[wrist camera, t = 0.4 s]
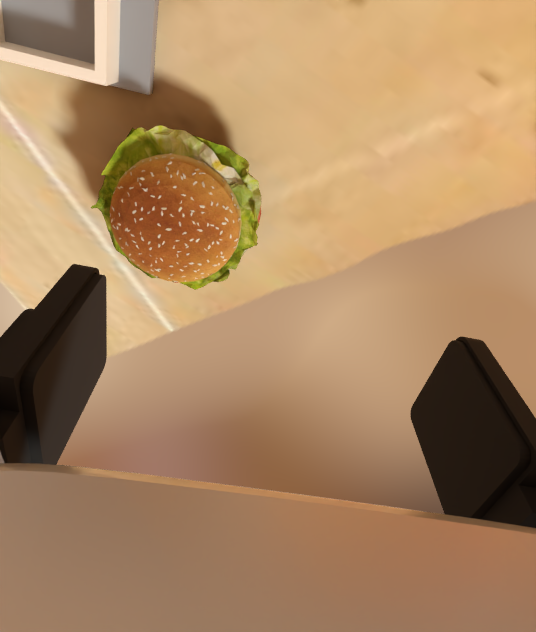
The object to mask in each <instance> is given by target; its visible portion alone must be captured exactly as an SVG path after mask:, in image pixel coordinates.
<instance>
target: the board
mask: <svg viewBox="0 0 536 632" xmlns="http://www.w3.org/2000/svg"><path fill="white" fill-rule="evenodd" d="M158 1H159V0H0V60H4V61H8V62H12V63H16V64H20V65H24V66H28V67H32V68H36V69H40V70H44V71H48V72H52V73H56V74H60V75H64V76H68V77H72V78H76V79H80V80H84V81H88V82H92V83H96V84H100V85H104V86H108V85H111V86H115V87H119V88H123V89H127V90H131V91H135V92H139V93H143V94H147V95H150V94H152V93H153V78H154V63H155V48H156V32H157V17H158Z"/></svg>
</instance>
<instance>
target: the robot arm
mask: <svg viewBox="0 0 536 632" xmlns="http://www.w3.org/2000/svg"><path fill="white" fill-rule="evenodd" d="M106 355H107V350H106V277H105V275H99V270H98V269H97V268H93V267H88V266H82V265H77V264H73V265H72V266H71V267H70V268H69V269H68V270H67V271H66V272H65V274H64V275H63V276H62V277H61V278H60V280H59V281H58V282H57V283H56V284H55V285H54V287H53V288H52V289H51V290H50V291H49V293H48V294H47V295H46V296H45V297H44V298H43V300H42V301H41V302H40V303H39V304H38V306H37V307H36V308H35V309H27V310H25V311H24V312H23V313H21V314H20V316H19V317H18V318H17V319H16V320H15V321H14V322H13V323H12V325H11V326H10V327H9V328H8V329H7V330H6V331H5V333H4V334H3V335H2V336H1V337H0V632H536V418H535V417H534V415H533V414H532V412H531V411H530V409H529V408H528V406H527V405H526V404H525V402H524V400H523V399H522V398H521V396H520V395H519V393H518V392H517V390H516V389H515V387H514V386H513V384H512V383H511V381H510V380H509V378H508V377H507V375H506V374H505V372H504V371H503V369H502V368H501V366H500V365H499V363H498V362H497V360H496V359H495V358H494V356H493V355H492V353H491V352H490V350H489V349H488V347H487V346H486V344H485V343H484V342H483V341H481V340H477V339H472V338H467V337H459V338H457V339H456V340H454V341H451V342H450V343H449V344H448V346H447V348H446V350H445V351H444V353H443V355H442V356H441V358H440V360H439V361H438V363H437V365H436V366H435V368H434V370H433V372H432V374H431V375H430V377H429V378H428V380H427V382H426V384H425V385H424V387H423V389H422V390H421V392H420V394H419V395H418V397H417V399H416V401H415V402H414V404H413V406H412V408H411V420H412V423H413V426H414V428H415V432H416V434H417V437H418V440H419V443H420V445H421V448H422V451H423V454H424V457H425V460H426V463H427V465H428V468H429V471H430V474H431V476H432V479H433V482H434V485H435V488H436V491H437V493H438V496H439V499H440V502H441V505H442V508H443V510H444V513H445V514H438V513H431V512H424V511H417V510H410V509H403V508H395V507H389V506H382V505H374V504H367V503H359V502H352V501H345V500H337V499H330V498H322V497H315V496H308V495H300V494H293V493H285V492H278V491H270V490H263V489H256V488H248V487H240V486H232V485H224V484H217V483H209V482H201V481H194V480H186V479H178V478H170V477H162V476H155V475H147V474H138V473H130V472H120V471H112V470H103V469H94V468H86V467H76V466H64V465H56V464H57V462H58V460H59V458H60V456H61V454H62V452H63V450H64V448H65V446H66V444H67V442H68V440H69V437H70V436H71V433H72V432H73V430H74V427H75V426H76V424H77V422H78V420H79V418H80V415H81V413H82V412H83V410H84V408H85V406H86V404H87V402H88V399H89V397H90V395H91V393H92V391H93V389H94V387H95V385H96V383H97V381H98V379H99V377H100V375H101V373H102V371H103V369H104V366H105V363H106Z"/></svg>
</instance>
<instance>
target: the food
mask: <svg viewBox="0 0 536 632" xmlns="http://www.w3.org/2000/svg"><path fill="white" fill-rule="evenodd" d="M248 171H249V163H248V161H247V160H246V159H244V158H243V157H241V156H239V155H237V154H236V153H235V152H233V151H232V150H231V149H229V148H227V147H226V146H223V145H219V144H215V143H213V142H210V141H208V140H205V139H202V138H199V137H196V136H194V135H191V134H189V133H188V132H186V131H185V130H173V129H169V128H167V127H165V126H162V125H161V126H155V127H154V128H152V129H150V130H148V131H147V130H146V129H144V128H137V129H136V130H135V129H134V128H132V130H131V131H130V133H129V135H128V136H127V138H126V139H125V140H124V141H123V142H121V144H120V145H119V146H118V148H117V149H116V151H115V153H114V154H113V156H112V158H111V159H110V161H109V162H108V164H107V166H106V167H105V169H104V170H103V172H102V174H101V175H105V179H104V183H103V186H102V188H101V189H100V191H99V198H98V201H97V204H96V205H94V206H92V207H91V208H98V209H99V210H100V211H101V212H102V214H103V216H104V219H105V221H106V225H107V228H108V231H109V232H110V235H111V239H112V242H113V245H114V247H115V248H116V250H117V251H118V252H120V253H121V254H122V255H124V256H125V257H126V258H127V259H128V261H129V262H130V263H131V264H132V265H133V266H135V267H136V268H138V269H140V270H141V271H143V272H144V273H145V274H147V275H148V276H149V277H151V278H161V279H164V280H167V281H172V282H180V283H182V284H184V285H187V286H188V287H190V288H193V289H195V290H196V289H198V288H201V287H203V286H205V285H207V284H208V283H210V282H212V281H214V282H220V281H224V280H225V279H227V278H228V276H229V270H228V269H236V268H237V265H238V264H239V262H240V259H241V257H242V256H243V254H244V253H245V252H246V250H247V249H248V248H251V247H253V246H254V245H255V246H256V245H257V244H258V243H257V234H256V230H257V228H258V226H259V220H260V216H261V194H260V191H259V183H258V181H257V180H256V179H254V178H253V177H252V176H251V175H250V174H249V173H248Z"/></svg>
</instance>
